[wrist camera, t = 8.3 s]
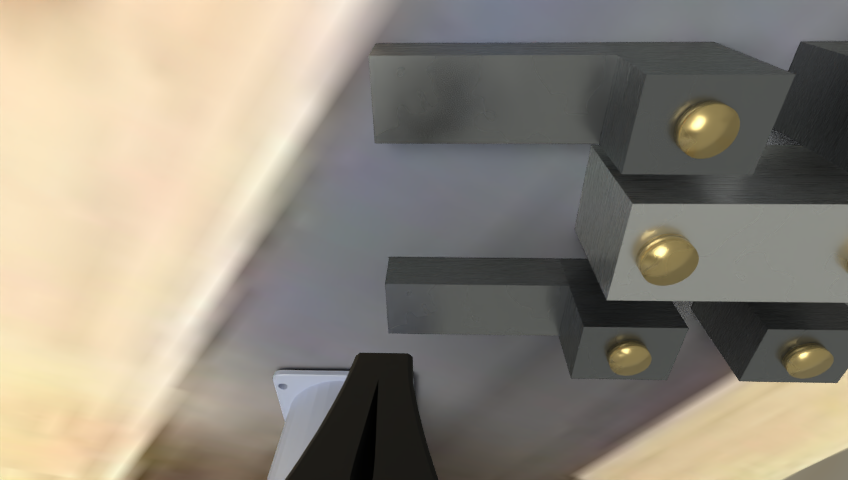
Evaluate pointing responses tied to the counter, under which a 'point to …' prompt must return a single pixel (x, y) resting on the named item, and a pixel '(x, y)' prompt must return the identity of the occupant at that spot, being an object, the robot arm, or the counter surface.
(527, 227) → the counter surface
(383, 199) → the counter surface
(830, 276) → the block with brass knobs
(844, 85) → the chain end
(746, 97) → the chain end
